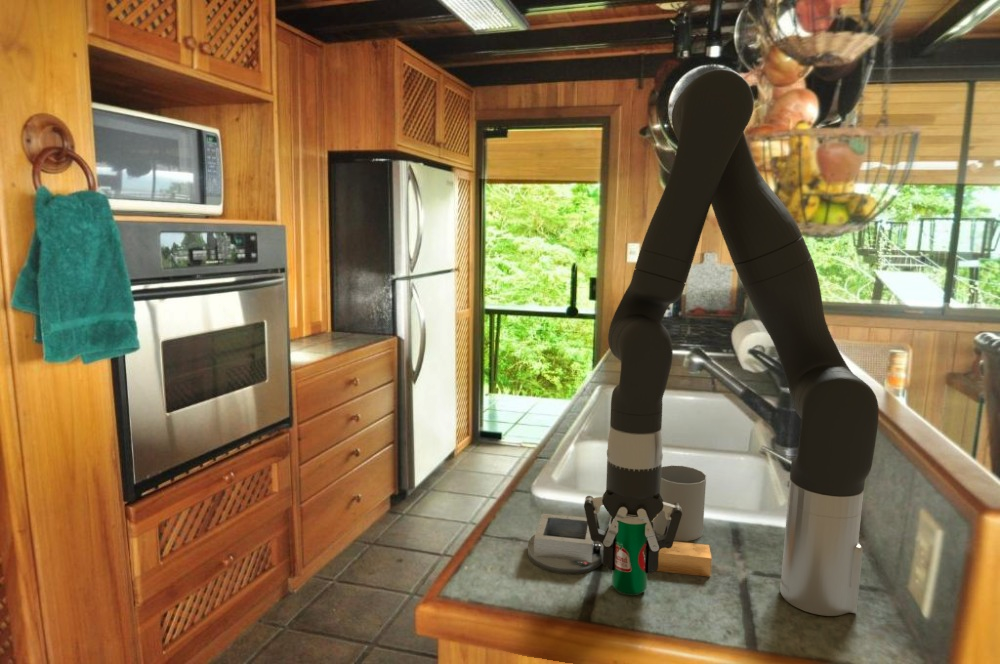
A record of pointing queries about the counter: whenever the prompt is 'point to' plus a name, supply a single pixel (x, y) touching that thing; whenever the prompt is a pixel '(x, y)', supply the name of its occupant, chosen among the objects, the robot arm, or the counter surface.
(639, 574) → the soda can
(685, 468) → the cup
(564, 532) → the ratchet
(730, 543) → the counter surface
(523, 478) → the counter surface
